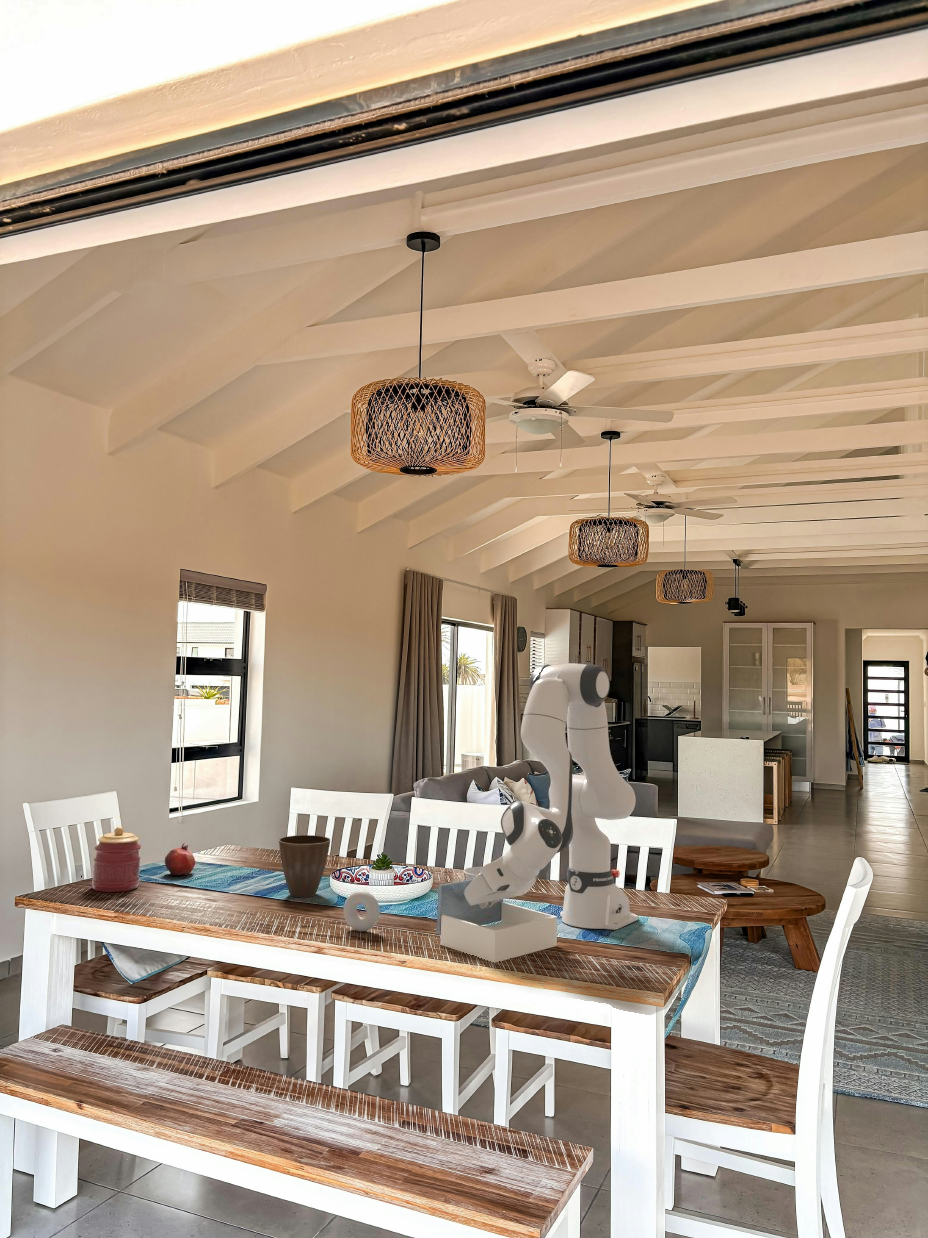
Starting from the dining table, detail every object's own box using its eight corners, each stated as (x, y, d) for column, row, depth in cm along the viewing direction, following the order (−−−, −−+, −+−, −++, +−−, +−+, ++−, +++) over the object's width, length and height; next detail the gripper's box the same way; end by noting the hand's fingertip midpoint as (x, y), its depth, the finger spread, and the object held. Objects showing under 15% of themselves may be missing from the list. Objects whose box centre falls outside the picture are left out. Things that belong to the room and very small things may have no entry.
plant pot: (300, 903, 250) (303, 845, 251) (265, 894, 259) (268, 839, 260) (338, 895, 262) (341, 839, 263) (303, 886, 271) (306, 833, 272)
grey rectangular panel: (502, 920, 230) (503, 874, 231) (439, 934, 215) (441, 885, 216) (496, 918, 232) (497, 873, 232) (433, 932, 216) (435, 884, 217)
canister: (128, 893, 255) (132, 831, 256) (83, 892, 255) (87, 829, 256) (145, 884, 267) (149, 824, 269) (103, 882, 268) (106, 822, 269)
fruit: (157, 876, 278) (159, 844, 279) (176, 870, 287) (177, 839, 288) (183, 879, 276) (184, 846, 276) (200, 873, 285) (202, 841, 285)
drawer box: (556, 946, 217) (557, 916, 217) (494, 963, 201) (495, 931, 202) (503, 929, 230) (503, 902, 230) (440, 944, 214) (441, 915, 215)
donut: (381, 932, 223) (383, 891, 224) (374, 935, 220) (376, 894, 221) (347, 927, 227) (348, 887, 228) (340, 930, 224) (341, 889, 225)
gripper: (536, 856, 223) (506, 889, 229) (478, 866, 209) (448, 900, 215) (549, 878, 219) (518, 910, 225) (491, 889, 205) (460, 923, 211)
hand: (484, 905), depth 220 cm, fingers closed
